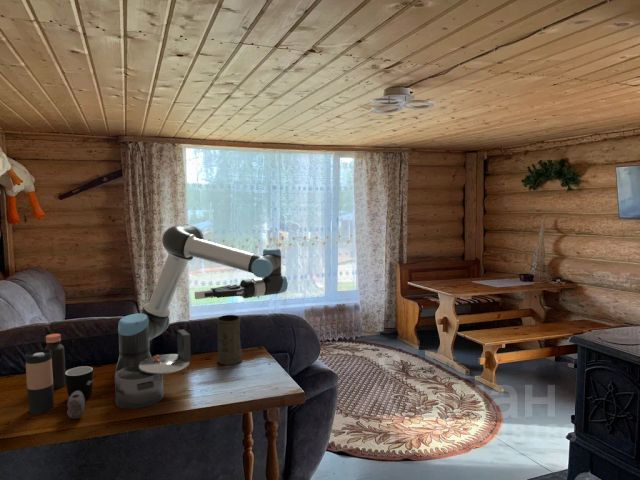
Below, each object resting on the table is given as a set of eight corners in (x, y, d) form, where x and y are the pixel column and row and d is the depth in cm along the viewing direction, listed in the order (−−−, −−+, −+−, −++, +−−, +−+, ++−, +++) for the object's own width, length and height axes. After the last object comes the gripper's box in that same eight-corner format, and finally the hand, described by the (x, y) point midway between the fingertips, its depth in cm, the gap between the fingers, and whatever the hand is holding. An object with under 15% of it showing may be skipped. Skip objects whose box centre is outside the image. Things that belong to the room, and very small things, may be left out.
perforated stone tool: (70, 404, 158) (69, 385, 157) (87, 402, 160) (86, 383, 160) (65, 424, 144) (64, 403, 144) (84, 420, 147) (83, 400, 146)
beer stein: (239, 365, 195) (238, 320, 193) (214, 365, 195) (213, 320, 193) (245, 353, 210) (245, 311, 208) (223, 353, 210) (222, 311, 208)
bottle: (57, 381, 178) (54, 332, 176) (70, 383, 176) (67, 333, 174) (41, 388, 172) (38, 337, 170) (54, 390, 169) (51, 339, 168)
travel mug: (36, 404, 158) (32, 349, 156) (58, 404, 158) (55, 348, 157) (23, 415, 150) (19, 357, 148) (47, 414, 151) (44, 356, 149)
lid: (195, 367, 164) (194, 337, 163) (145, 378, 155) (144, 346, 154) (180, 353, 179) (180, 326, 178) (134, 363, 169) (132, 333, 168)
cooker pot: (170, 403, 159) (169, 375, 158) (121, 415, 150) (120, 386, 149) (155, 384, 175) (154, 359, 174) (111, 394, 166) (109, 367, 165)
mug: (89, 402, 160) (87, 374, 159) (62, 404, 158) (60, 376, 157) (100, 388, 171) (99, 362, 171) (75, 389, 170) (73, 363, 169)
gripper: (259, 299, 179) (201, 308, 166) (245, 294, 190) (190, 302, 177) (258, 281, 179) (201, 288, 165) (244, 276, 189) (189, 283, 176)
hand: (195, 295), depth 171 cm, fingers closed
